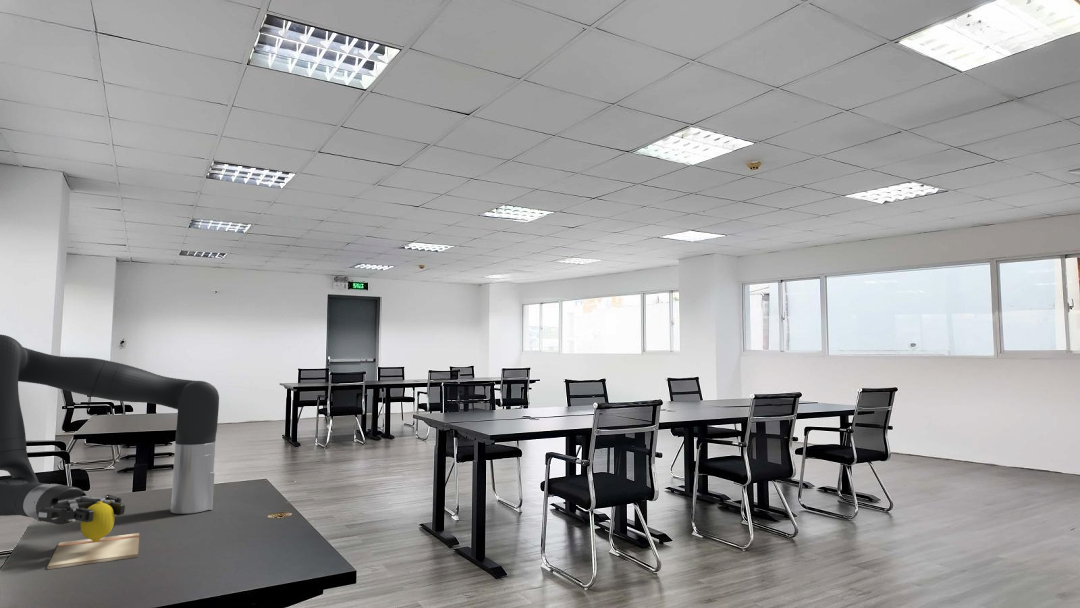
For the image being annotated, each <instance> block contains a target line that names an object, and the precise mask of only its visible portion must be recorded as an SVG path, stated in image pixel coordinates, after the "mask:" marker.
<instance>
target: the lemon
mask: <svg viewBox="0 0 1080 608" xmlns="http://www.w3.org/2000/svg"><path fill="white" fill-rule="evenodd" d="M88 509H90V510H93V520H92V521H91V522H84V521H80V532H81V534H82V536H84V537H85V539H91V540H92V541H93V542H98V541H99V540H100V539H101V538H103V537H107V536H108V535H109V534H110V533H111V531H112V529H113V527H114V524H115V519H116V518H115V516H116V515H114V511H113V509H112V507H111V506H110V505H108V504H106V503H103V502H102V501H99V502H97V503H96V504H94V505H92V506H90V507H89V508H88Z"/></svg>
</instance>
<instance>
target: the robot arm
mask: <svg viewBox="0 0 1080 608" xmlns="http://www.w3.org/2000/svg"><path fill="white" fill-rule="evenodd" d="M19 382H21V383H29V384H30V383H31V384H36V385H38V384H39V385H44V386H48V387H53V388H55V389H59V390H63V391H67V392H71V393H75V394H78V395H84V396H87V397H94V398H98V399H103V400H109V401H114V402H115V401H117V402H126V403H127V402H128V403H142V404H143V403H145V404H146V403H147V404H153V405H159V406H163V407H167V408H171V409H174V410H177V417H176V418H177V419H176V429H175V430H176V431H175V442H174V443H175V444H174V455H173V456H174V457H173V471H172V486H171V501H170V513H172V514H183V515H184V514H196V513H200V512H205V511H211V510H213V502H214V487H215V456H216V455H215V454H216V453H215V452H216V442H217V441H216V440H217V439H216V438H217V432H218V424H219V423H218V422H219V409H220V408H219V407H220V396H219V395H220V394H219V392H218V389H217V388H216V387H215V386H214V385H212V384H211V383H209V382H207V381H204V380H190V379H184V378H183V379H182V378H175V377H169V376H164V375H161V374H157V373H154V372H151V371H148V370H145V369H142V368H138V367H135V366H132V365H128V364H125V363H120V362H116V361H112V360H107V359H106V360H105V359H101V358H95V357H81V356H80V357H79V356H61V355H54V354H48V353H45V352H42V351H38V350H34V349H30V348H27V347H24V346H23V345H22V344H21V343H20V341H18V340H17V339H15V338H14V337H11V336H9V335H5V334H0V471H5V472H7V473H9V475H10V476H11V478H7V479H0V517H6V516H7V517H8V516H9V517H10V516H23V517H26V518H32V519H34V520H37V521H38V522H43V523H44V522H46V523H49V524H55V525H59V526H61V525H63V526H64V525H68V524H71V523H73V522H77V521H80V522H81V521H84V522H91V521H92V520H93V510H90V509H88V508H89V507H90V506H92V505H94V504H96V503H97V502H99V501H102V502H103V503H106V504H108V505H110V506H111V507H112V509H113V511H114V516H121V515H124V513H125V511H126V510H125V509H126V504H125V503H122V498H121V497H118V496H116V495H112V494H106V495H104V497H99V496H98V497H96V496H95V497H93V496H91V495H87V494H86V493H85V491H84V490H83V489H81V488H79V487H77V486H70V485H63V484H58V483H50V484H49V483H45V482H44V483H43V482H39V479H38V477H37V475H36V473H35V471H34V469H33V467H32V464H31V461H30V459H29V456H28V450H27V449H28V448H27V439H26V436H27V435H26V429H25V428H26V427H25V423H24V417H23V414H22V409H21V407H22V406H21V403H20V402H21V401H20V395H19Z"/></svg>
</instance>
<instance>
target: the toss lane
mask: <svg viewBox="0 0 1080 608" xmlns="http://www.w3.org/2000/svg"><path fill="white" fill-rule="evenodd" d="M139 546H140V532H137V533H129V534H127V533H126V534H122V535H111V536H105V537H103V538H101V539H100V540H99V541H98V542H93V541H92V540H91V539H88V538H85V539H79V540H78V539H77V540H71V541H70V540H69V541H61V542H60V541H59V543H58V545H57V547H56V548H55V550H54V553H53V555H52V557H51V559H50V560H49V563H48V565H47V566H46V570H53V569H60V568H68V567H77V566H83V565H89V564H90V565H91V564H98V563H106V562H112V561H120V560H125V559H127V560H128V559H134V558H138V557H139Z"/></svg>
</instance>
